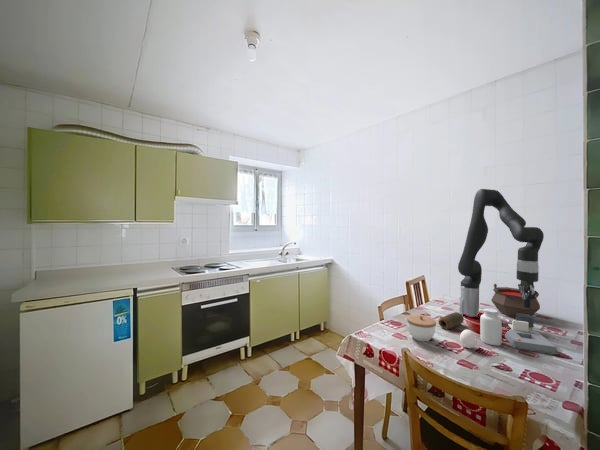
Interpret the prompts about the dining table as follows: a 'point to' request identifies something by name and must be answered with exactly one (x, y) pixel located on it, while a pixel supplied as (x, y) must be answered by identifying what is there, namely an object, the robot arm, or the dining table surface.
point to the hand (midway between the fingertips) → (526, 307)
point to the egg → (468, 339)
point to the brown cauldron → (513, 302)
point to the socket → (529, 341)
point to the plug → (525, 319)
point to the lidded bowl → (421, 327)
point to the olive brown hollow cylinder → (451, 320)
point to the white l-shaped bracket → (519, 325)
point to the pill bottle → (491, 327)
